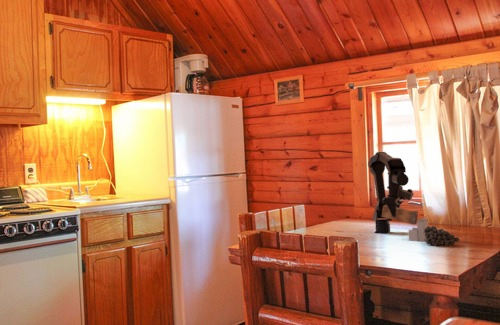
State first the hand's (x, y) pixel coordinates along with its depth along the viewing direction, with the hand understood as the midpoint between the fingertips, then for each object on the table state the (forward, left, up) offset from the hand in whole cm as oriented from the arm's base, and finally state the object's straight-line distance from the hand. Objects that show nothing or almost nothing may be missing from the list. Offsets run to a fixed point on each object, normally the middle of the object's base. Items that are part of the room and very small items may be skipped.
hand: (395, 216), depth 242 cm
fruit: (+23, -9, -11) cm, 27 cm away
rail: (+2, 0, -2) cm, 2 cm away
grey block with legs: (+11, +1, -11) cm, 15 cm away
